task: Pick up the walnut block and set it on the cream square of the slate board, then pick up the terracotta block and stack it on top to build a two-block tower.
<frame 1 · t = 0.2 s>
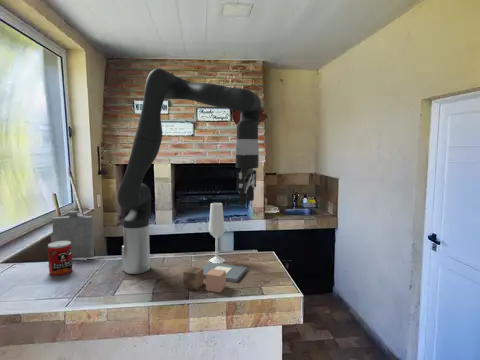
hand: (246, 202, 105), 28 cm above the countertop, fingers open, 8 cm apart
walnut block: (193, 285, 107), on the countertop
canned food: (61, 272, 119), on the countertop
terracotta block: (216, 288, 105), on the countertop
champagne flute: (216, 261, 131), on the countertop
slate board: (221, 273, 118), on the countertop
hip flask: (74, 257, 136), on the countertop
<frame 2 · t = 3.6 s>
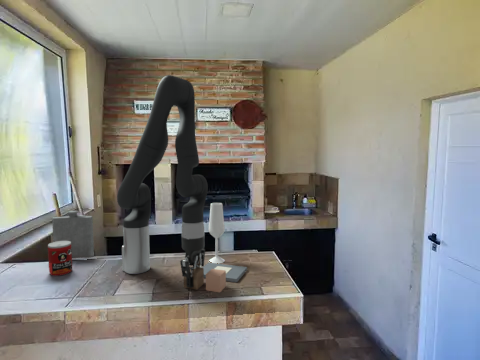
hand: (193, 283, 107), 1 cm above the countertop, fingers closed on walnut block, 5 cm apart
walnut block: (193, 285, 107), on the countertop, touching gripper
everything else where it was.
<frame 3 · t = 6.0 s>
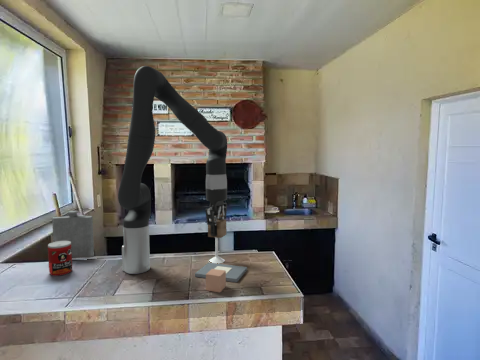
hand: (217, 233, 114), 16 cm above the countertop, fingers closed on walnut block, 5 cm apart
walnut block: (217, 235, 114), point 15 cm above the countertop, touching gripper
everything else where it was.
when the fingers open (3 cm above the countertop, at t = 9.0 s): walnut block stays where it is, resting on slate board.
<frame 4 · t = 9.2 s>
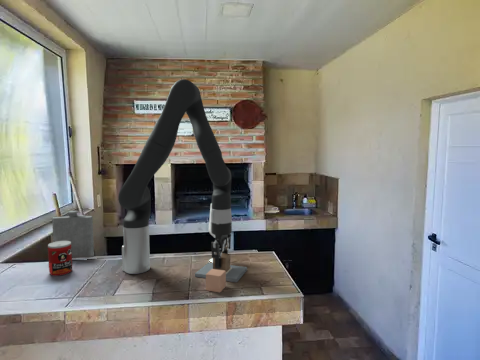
hand: (221, 264, 117), 3 cm above the countertop, fingers open, 6 cm apart
walnut block: (221, 269, 118), point 1 cm above the countertop, touching slate board
everything else where it was.
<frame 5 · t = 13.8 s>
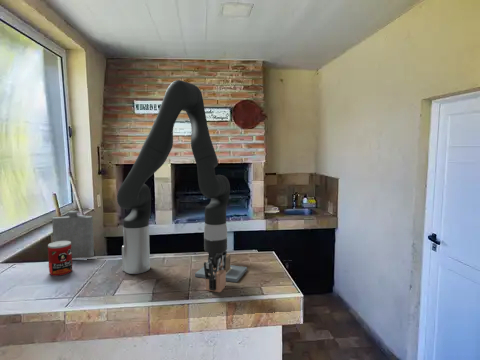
hand: (216, 286, 105), 1 cm above the countertop, fingers closed on terracotta block, 5 cm apart
terracotta block: (216, 288, 105), on the countertop, touching gripper
everything else where it was.
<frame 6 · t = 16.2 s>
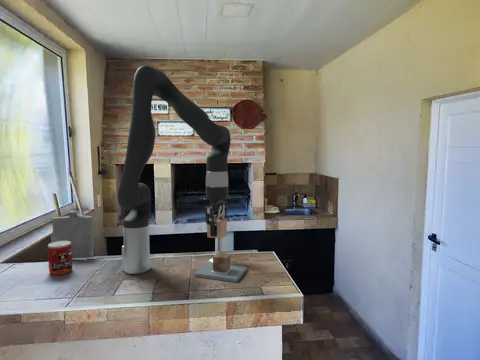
hand: (217, 234, 108), 17 cm above the countertop, fingers closed on terracotta block, 5 cm apart
terracotta block: (217, 236, 108), point 16 cm above the countertop, touching gripper
everything else where it was.
when the fingers open (9 cm above the countertop, at t = 18.8 s): terracotta block stays where it is, resting on walnut block.
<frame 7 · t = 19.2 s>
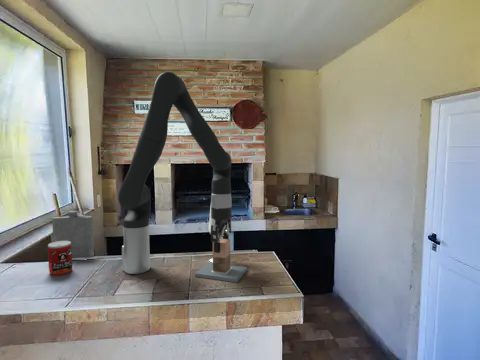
hand: (221, 248, 117), 9 cm above the countertop, fingers open, 8 cm apart
walnut block: (221, 269, 118), point 1 cm above the countertop, touching slate board, terracotta block
terracotta block: (221, 255, 117), point 7 cm above the countertop, touching walnut block
everything else where it was.
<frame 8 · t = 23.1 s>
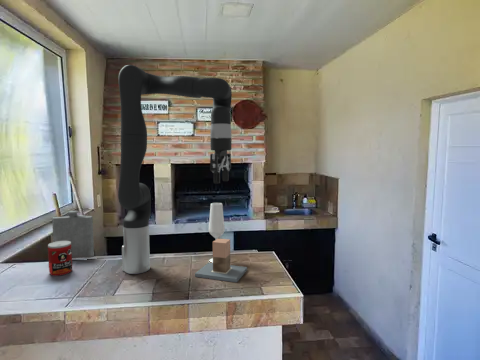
hand: (221, 182, 115), 34 cm above the countertop, fingers open, 8 cm apart
nothing on the countertop moved.
at the end: walnut block 0.0 cm off-centre on the slate board, point 1.4 cm above the slate board's base; terracotta block 0.0 cm off-centre on the slate board, point 6.9 cm above the slate board's base; terracotta block tilted 0° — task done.
